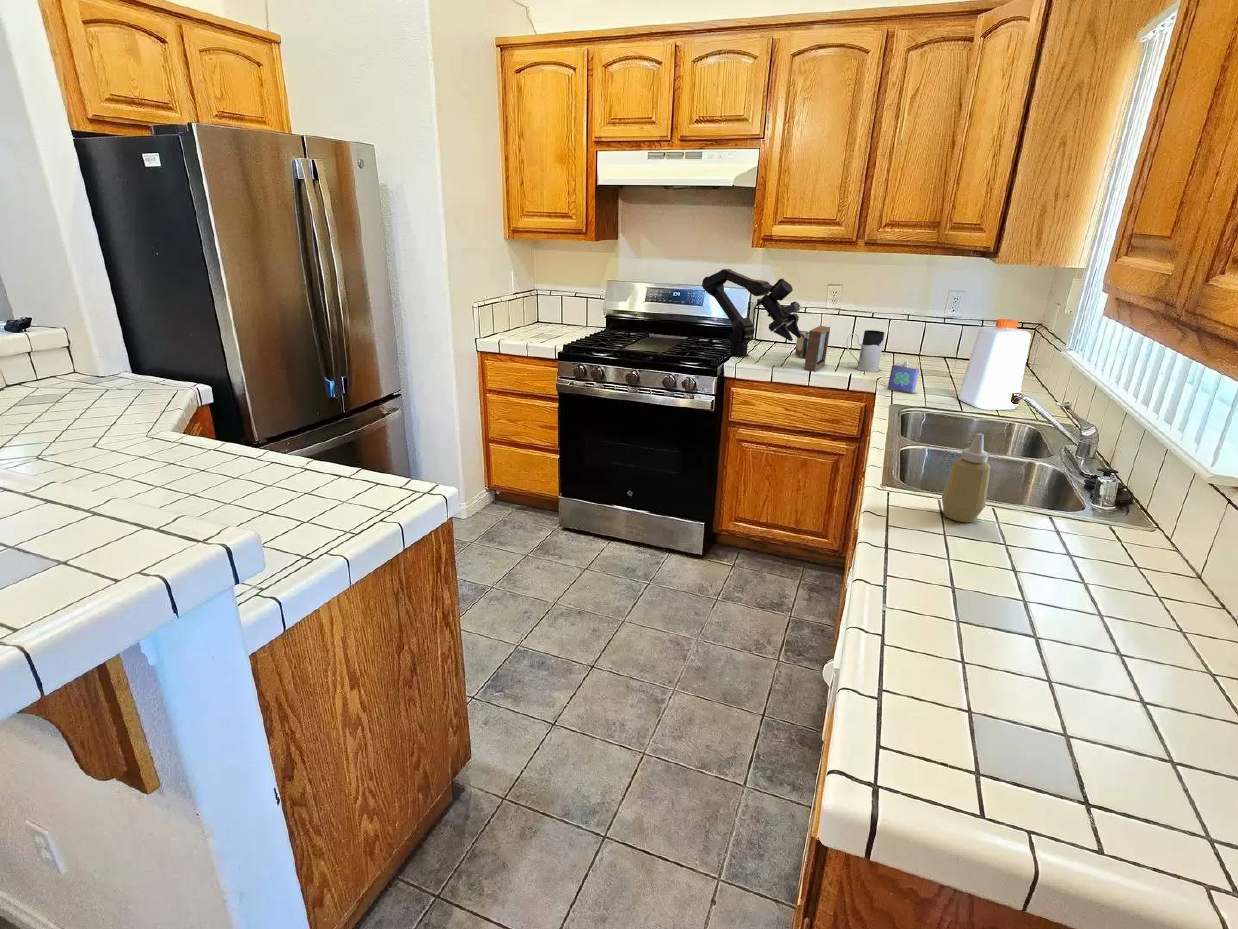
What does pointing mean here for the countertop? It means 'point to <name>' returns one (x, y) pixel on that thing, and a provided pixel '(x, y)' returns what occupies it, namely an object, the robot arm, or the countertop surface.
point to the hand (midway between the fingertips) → (796, 339)
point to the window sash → (804, 347)
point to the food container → (801, 343)
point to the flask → (903, 378)
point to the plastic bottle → (996, 366)
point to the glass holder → (870, 350)
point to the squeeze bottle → (967, 483)
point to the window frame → (817, 348)
